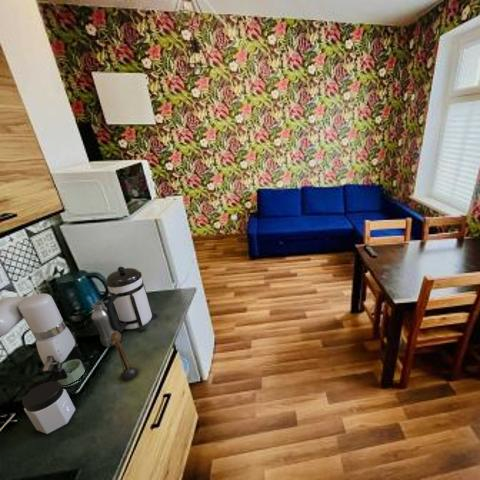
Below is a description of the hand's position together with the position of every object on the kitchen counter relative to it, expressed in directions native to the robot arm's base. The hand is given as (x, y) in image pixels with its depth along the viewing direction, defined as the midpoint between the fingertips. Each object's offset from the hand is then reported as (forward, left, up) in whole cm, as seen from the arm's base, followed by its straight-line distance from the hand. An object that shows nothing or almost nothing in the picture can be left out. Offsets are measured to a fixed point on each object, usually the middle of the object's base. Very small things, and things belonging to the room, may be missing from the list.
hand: (69, 367), depth 94 cm
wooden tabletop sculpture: (+18, -5, -6) cm, 20 cm away
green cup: (0, 0, -6) cm, 6 cm away
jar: (+2, -16, -6) cm, 17 cm away
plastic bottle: (+7, +16, -6) cm, 18 cm away
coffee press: (+14, +25, -6) cm, 29 cm away
